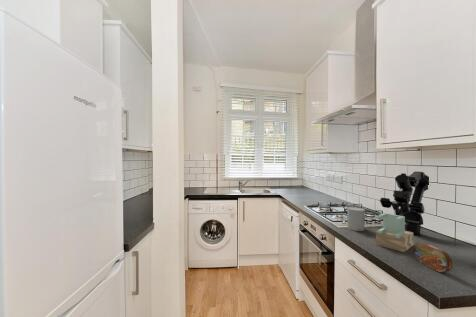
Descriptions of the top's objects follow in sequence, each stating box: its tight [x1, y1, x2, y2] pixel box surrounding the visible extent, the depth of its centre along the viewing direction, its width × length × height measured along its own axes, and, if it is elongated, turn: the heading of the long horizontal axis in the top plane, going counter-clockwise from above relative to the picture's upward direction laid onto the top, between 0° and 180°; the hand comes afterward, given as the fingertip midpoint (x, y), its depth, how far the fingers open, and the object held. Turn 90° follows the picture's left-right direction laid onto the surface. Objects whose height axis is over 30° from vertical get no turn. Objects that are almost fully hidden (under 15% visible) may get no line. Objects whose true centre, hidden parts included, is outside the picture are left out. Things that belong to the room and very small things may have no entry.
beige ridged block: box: [375, 230, 414, 253], centre depth 115 cm, size 14×12×6 cm
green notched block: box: [377, 212, 405, 238], centre depth 112 cm, size 8×9×9 cm
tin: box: [412, 242, 453, 273], centre depth 92 cm, size 15×3×8 cm, turn 4°
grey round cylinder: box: [346, 206, 366, 232], centre depth 141 cm, size 10×10×12 cm
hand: (396, 218), depth 117 cm, fingers closed
